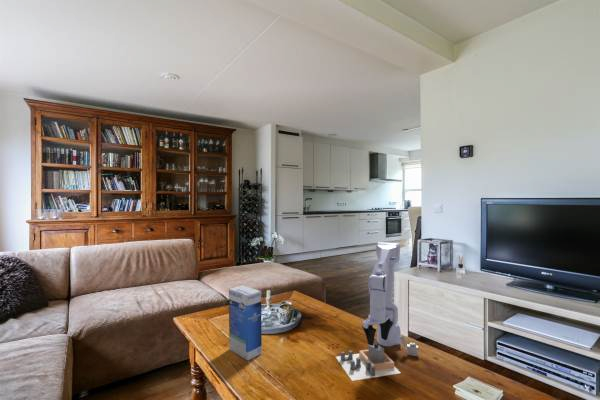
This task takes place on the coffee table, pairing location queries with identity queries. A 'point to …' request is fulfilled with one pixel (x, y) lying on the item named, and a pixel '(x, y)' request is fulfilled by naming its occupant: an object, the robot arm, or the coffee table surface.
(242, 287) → the string lights box
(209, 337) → the coffee table surface
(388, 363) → the frame
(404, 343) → the lighter
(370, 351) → the block
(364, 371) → the board
